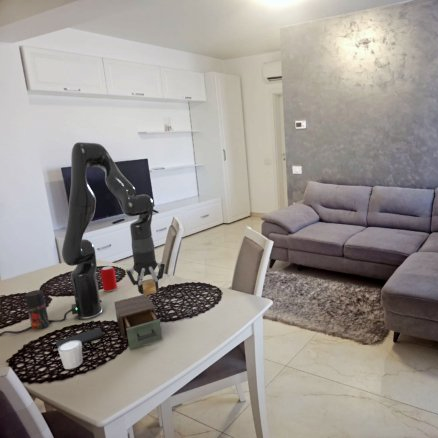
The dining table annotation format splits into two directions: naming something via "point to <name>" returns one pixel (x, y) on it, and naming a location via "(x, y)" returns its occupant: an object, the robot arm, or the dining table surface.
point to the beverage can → (108, 278)
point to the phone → (83, 337)
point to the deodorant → (37, 310)
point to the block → (148, 287)
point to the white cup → (71, 354)
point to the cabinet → (132, 309)
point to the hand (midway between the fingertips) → (148, 291)
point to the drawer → (142, 329)
